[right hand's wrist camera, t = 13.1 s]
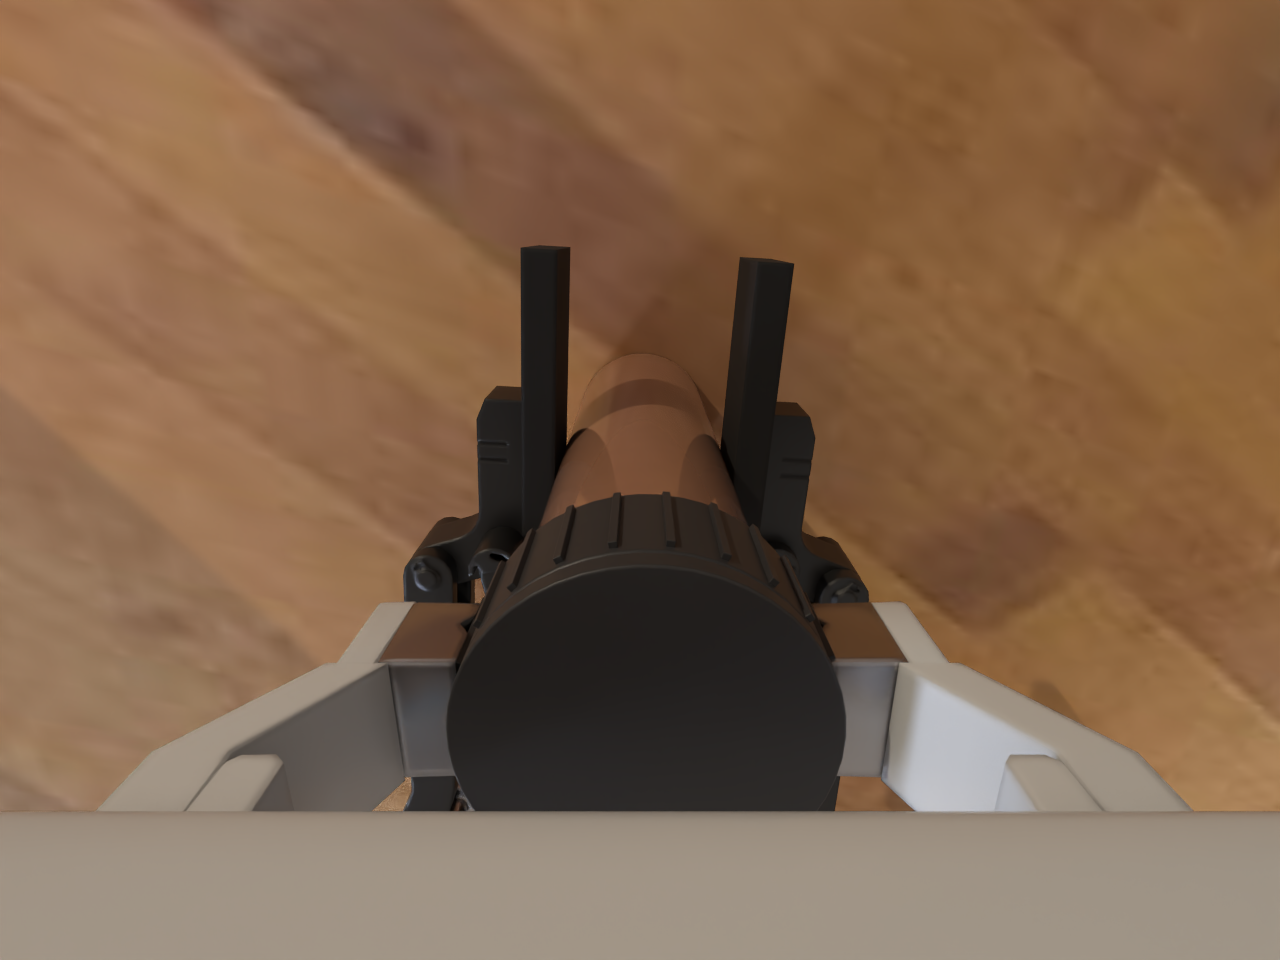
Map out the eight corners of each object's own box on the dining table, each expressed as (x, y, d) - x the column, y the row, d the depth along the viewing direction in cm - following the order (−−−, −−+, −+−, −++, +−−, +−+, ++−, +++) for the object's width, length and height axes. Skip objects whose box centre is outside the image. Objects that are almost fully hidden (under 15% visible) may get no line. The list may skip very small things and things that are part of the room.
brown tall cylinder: (560, 384, 23) (420, 652, 8) (672, 332, 22) (736, 521, 8) (613, 488, 24) (573, 879, 10) (720, 442, 24) (853, 783, 9)
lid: (416, 568, 10) (357, 658, 8) (736, 430, 9) (764, 487, 7) (571, 809, 11) (555, 938, 9) (854, 707, 11) (906, 821, 9)
